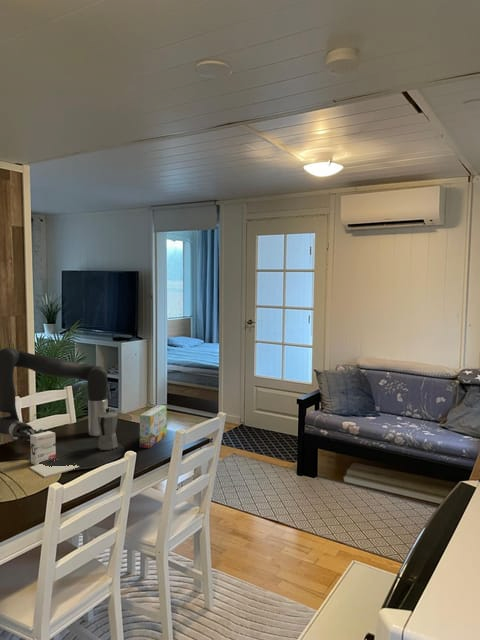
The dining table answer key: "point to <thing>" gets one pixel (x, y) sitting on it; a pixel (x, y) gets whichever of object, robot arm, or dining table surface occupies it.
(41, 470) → the mat
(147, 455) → the dining table surface
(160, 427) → the snack box
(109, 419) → the coffeepot
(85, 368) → the robot arm
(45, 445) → the ink box
